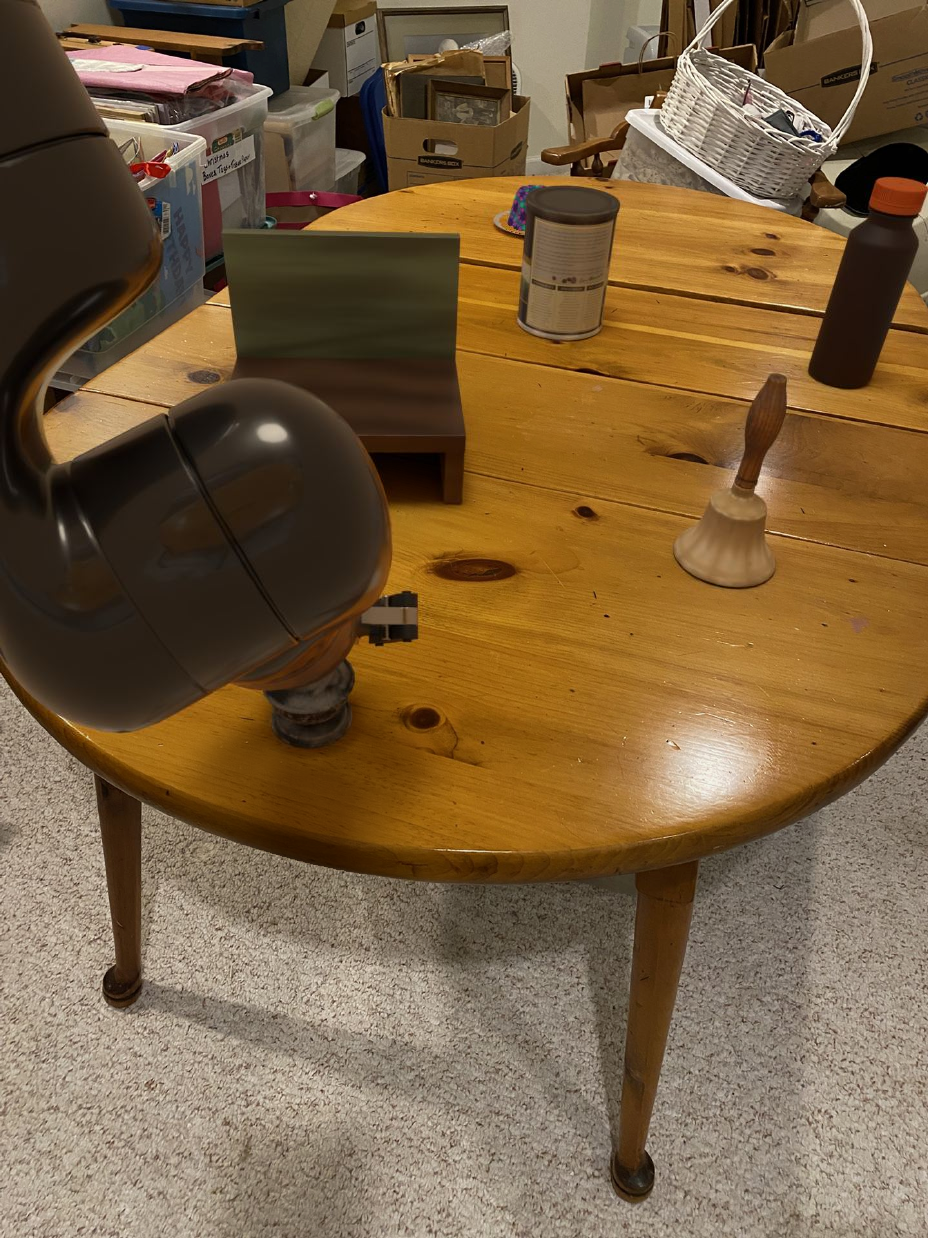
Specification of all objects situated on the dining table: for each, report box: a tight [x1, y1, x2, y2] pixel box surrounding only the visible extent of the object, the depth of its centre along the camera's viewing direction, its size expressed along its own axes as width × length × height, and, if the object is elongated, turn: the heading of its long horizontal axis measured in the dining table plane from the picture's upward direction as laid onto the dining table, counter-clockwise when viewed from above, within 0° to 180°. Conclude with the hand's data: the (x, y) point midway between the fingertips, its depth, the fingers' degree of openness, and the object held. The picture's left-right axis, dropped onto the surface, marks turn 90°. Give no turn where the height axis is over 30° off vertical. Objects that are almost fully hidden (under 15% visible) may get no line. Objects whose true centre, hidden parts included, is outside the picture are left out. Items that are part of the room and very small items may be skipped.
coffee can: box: [516, 184, 621, 342], centre depth 105 cm, size 10×10×14 cm
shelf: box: [220, 227, 467, 505], centre depth 79 cm, size 15×20×18 cm
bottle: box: [807, 176, 928, 389], centre depth 96 cm, size 7×7×20 cm
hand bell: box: [672, 372, 788, 588], centre depth 71 cm, size 8×8×16 cm
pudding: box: [493, 184, 547, 236], centre depth 134 cm, size 12×12×5 cm
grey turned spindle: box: [262, 657, 356, 749], centre depth 56 cm, size 6×6×12 cm
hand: (307, 628), depth 58 cm, fingers open, 4 cm apart
